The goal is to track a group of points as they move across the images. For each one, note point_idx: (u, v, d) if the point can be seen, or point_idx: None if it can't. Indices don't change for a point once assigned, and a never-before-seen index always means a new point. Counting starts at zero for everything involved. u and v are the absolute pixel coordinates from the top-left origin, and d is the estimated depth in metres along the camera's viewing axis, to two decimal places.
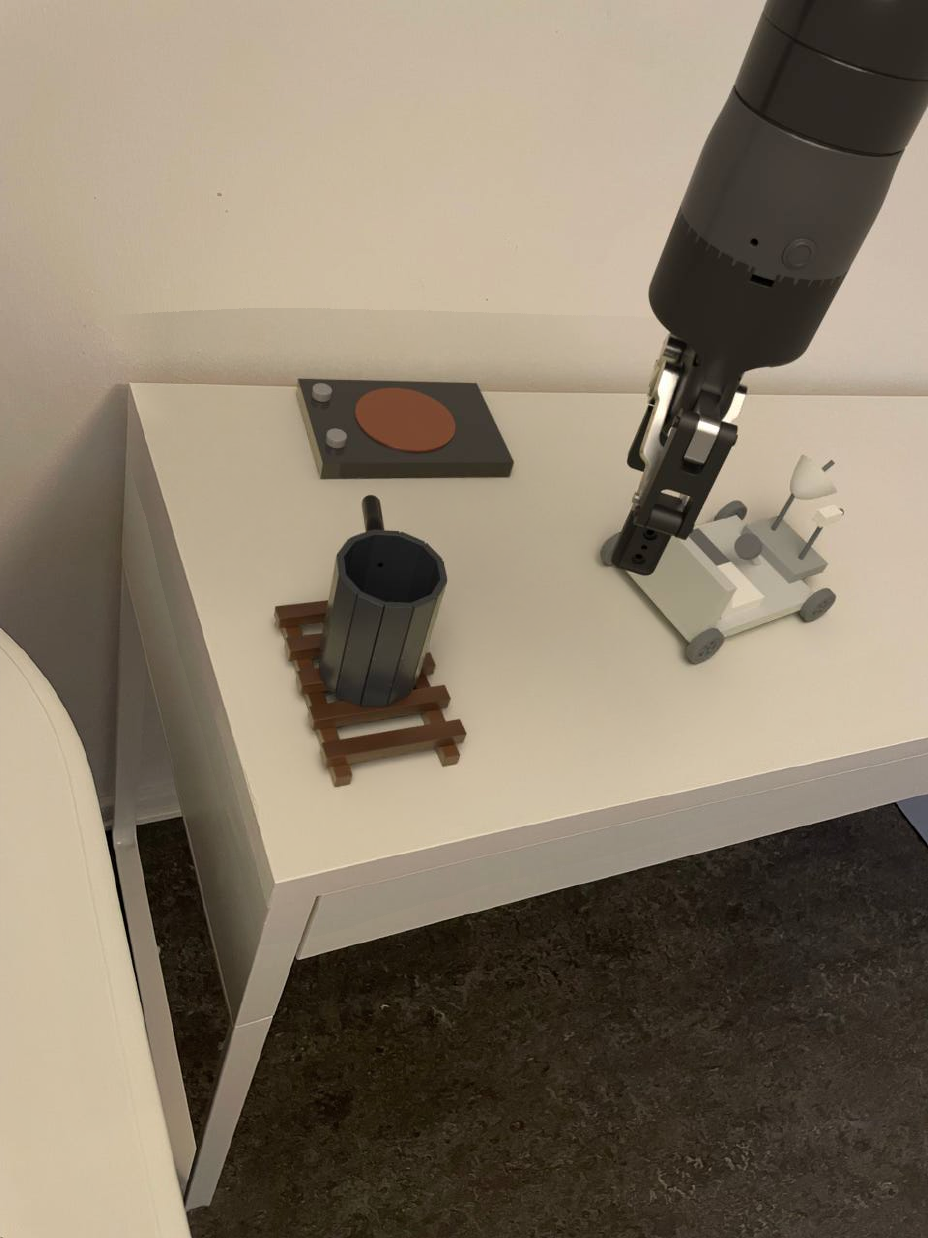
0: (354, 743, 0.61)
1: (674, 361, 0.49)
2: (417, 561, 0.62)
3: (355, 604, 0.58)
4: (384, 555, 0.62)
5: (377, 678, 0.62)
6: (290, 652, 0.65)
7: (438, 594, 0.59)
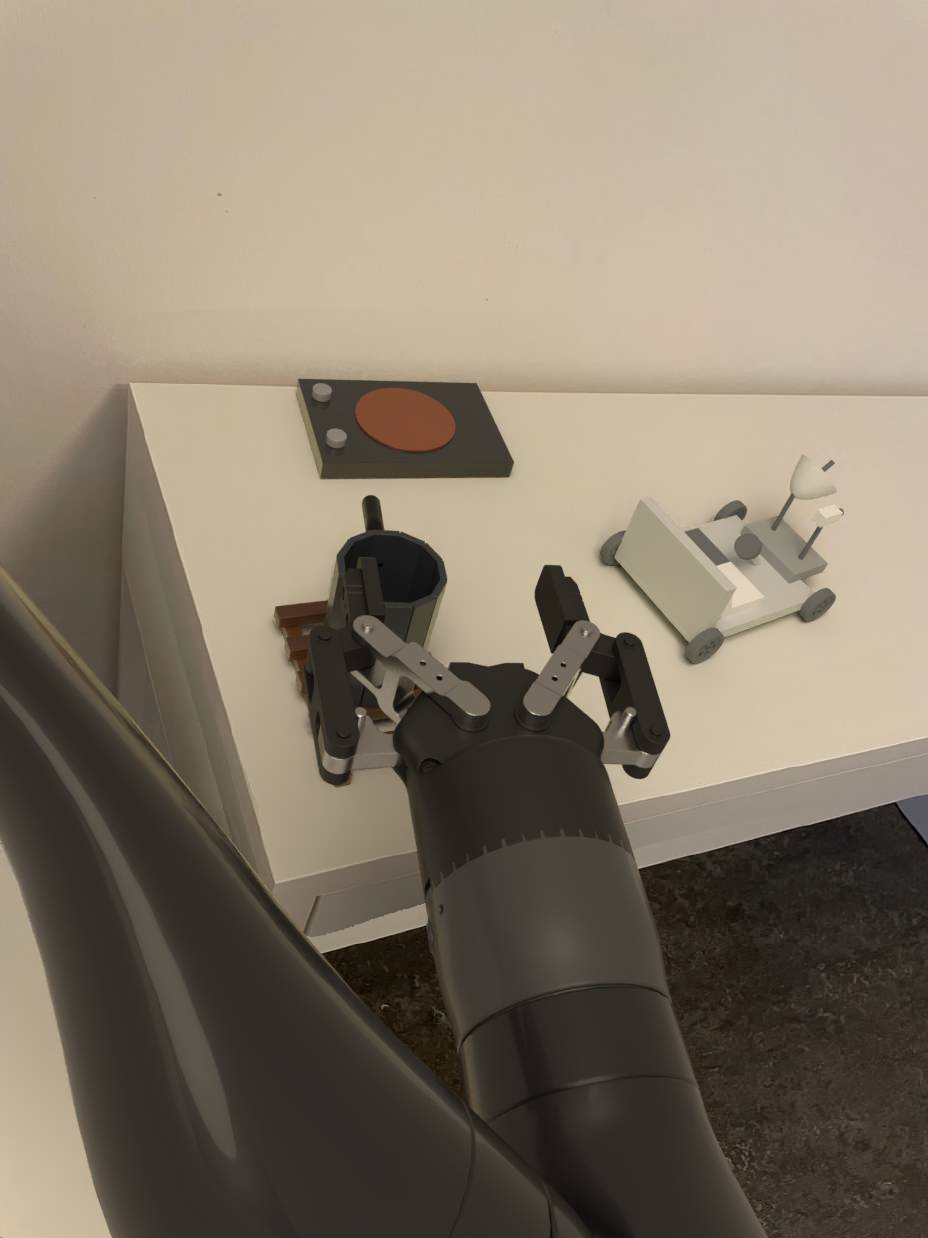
0: None
1: (520, 706, 0.40)
2: (417, 561, 0.62)
3: None
4: (384, 555, 0.62)
5: None
6: (290, 652, 0.65)
7: (438, 594, 0.59)
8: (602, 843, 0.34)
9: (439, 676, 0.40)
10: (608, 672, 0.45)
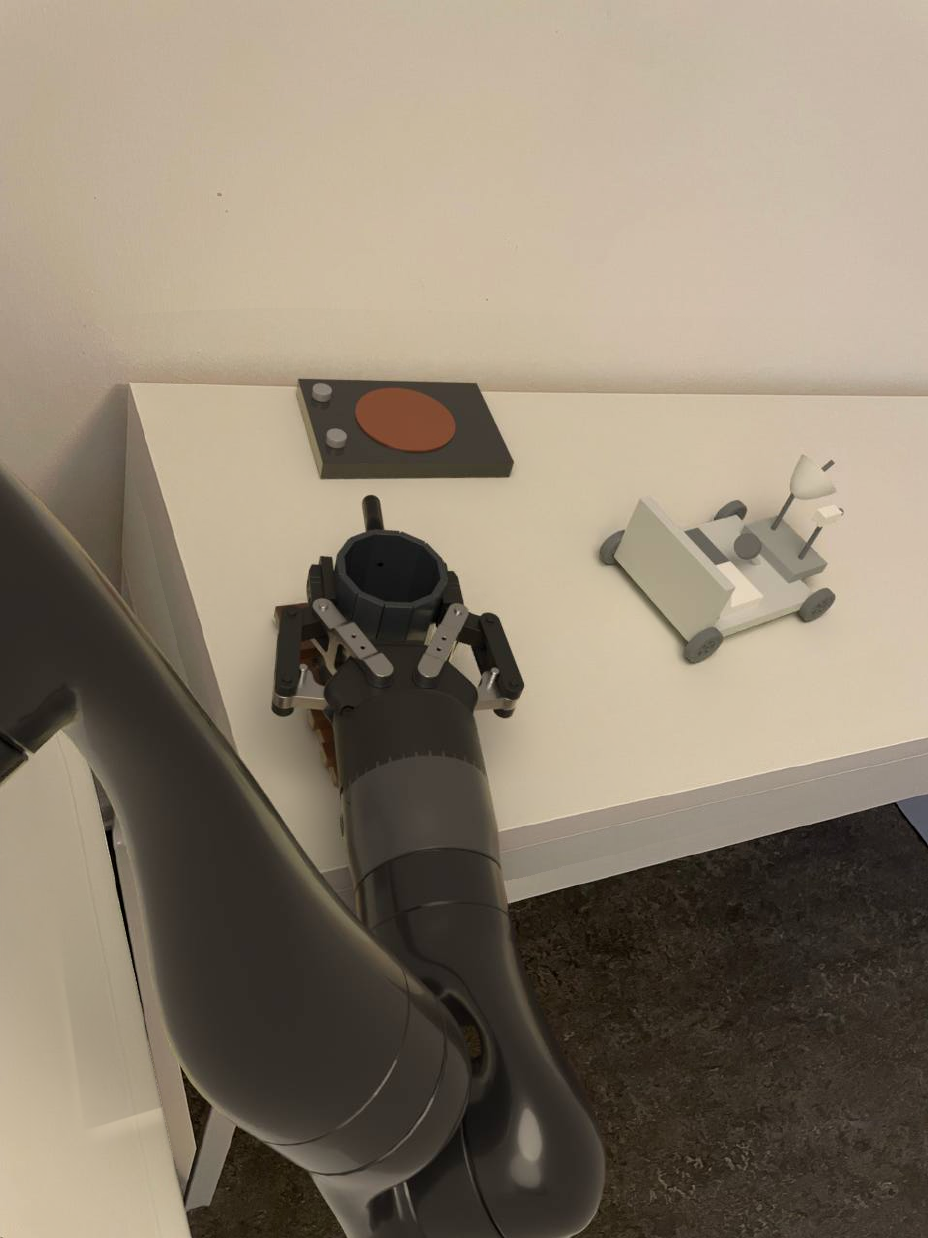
0: None
1: (417, 671, 0.56)
2: (417, 561, 0.62)
3: (355, 603, 0.58)
4: (384, 555, 0.62)
5: None
6: None
7: (438, 594, 0.59)
8: (458, 761, 0.50)
9: (358, 648, 0.56)
10: (475, 642, 0.61)
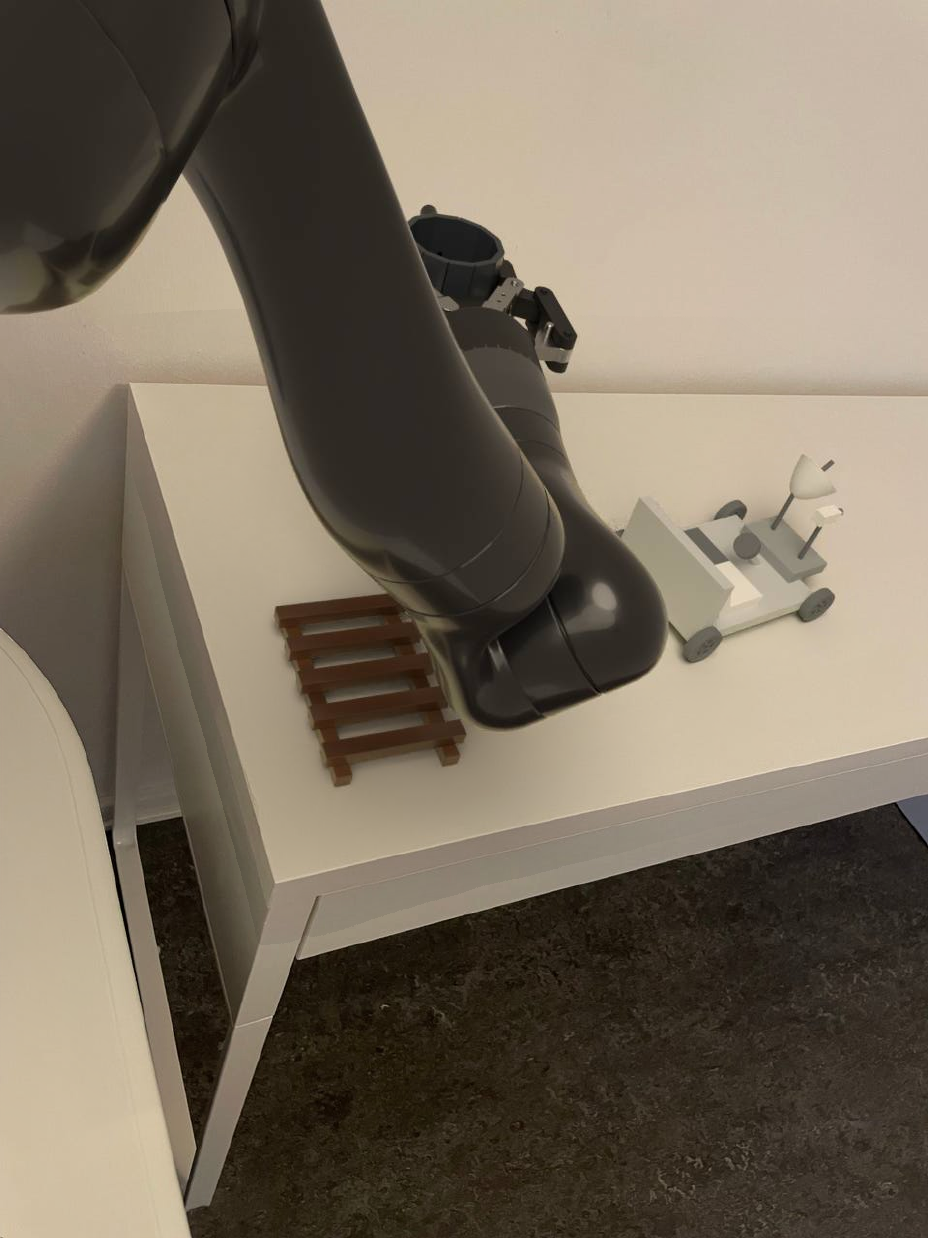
0: (354, 743, 0.61)
1: None
2: (475, 247, 0.67)
3: None
4: (444, 242, 0.67)
5: None
6: (290, 652, 0.65)
7: (497, 260, 0.64)
8: (523, 356, 0.55)
9: None
10: (530, 314, 0.66)
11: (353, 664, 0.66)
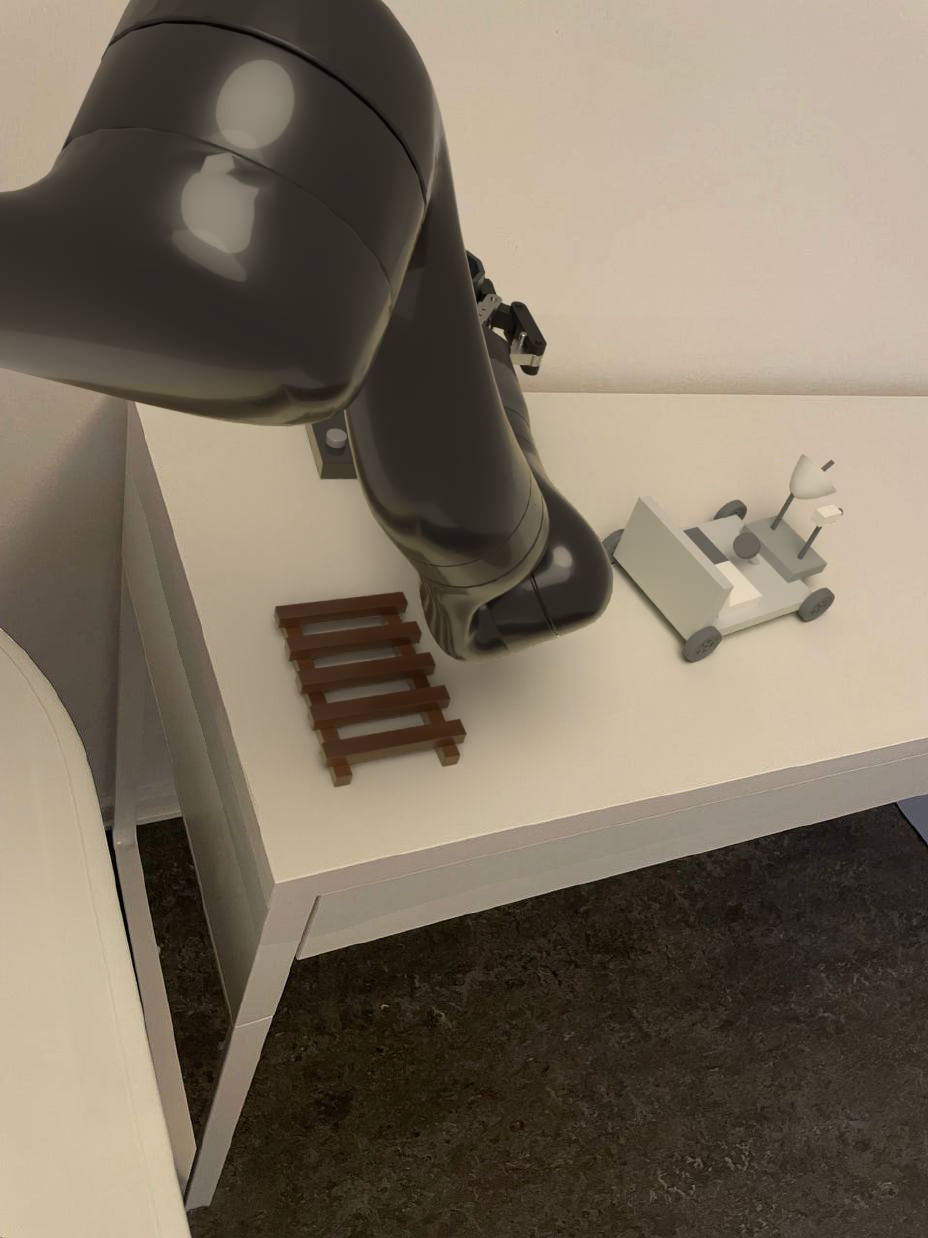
0: (354, 743, 0.61)
1: None
2: None
3: None
4: None
5: None
6: (290, 652, 0.65)
7: (478, 279, 0.75)
8: (499, 362, 0.66)
9: None
10: (507, 325, 0.77)
11: (353, 664, 0.66)
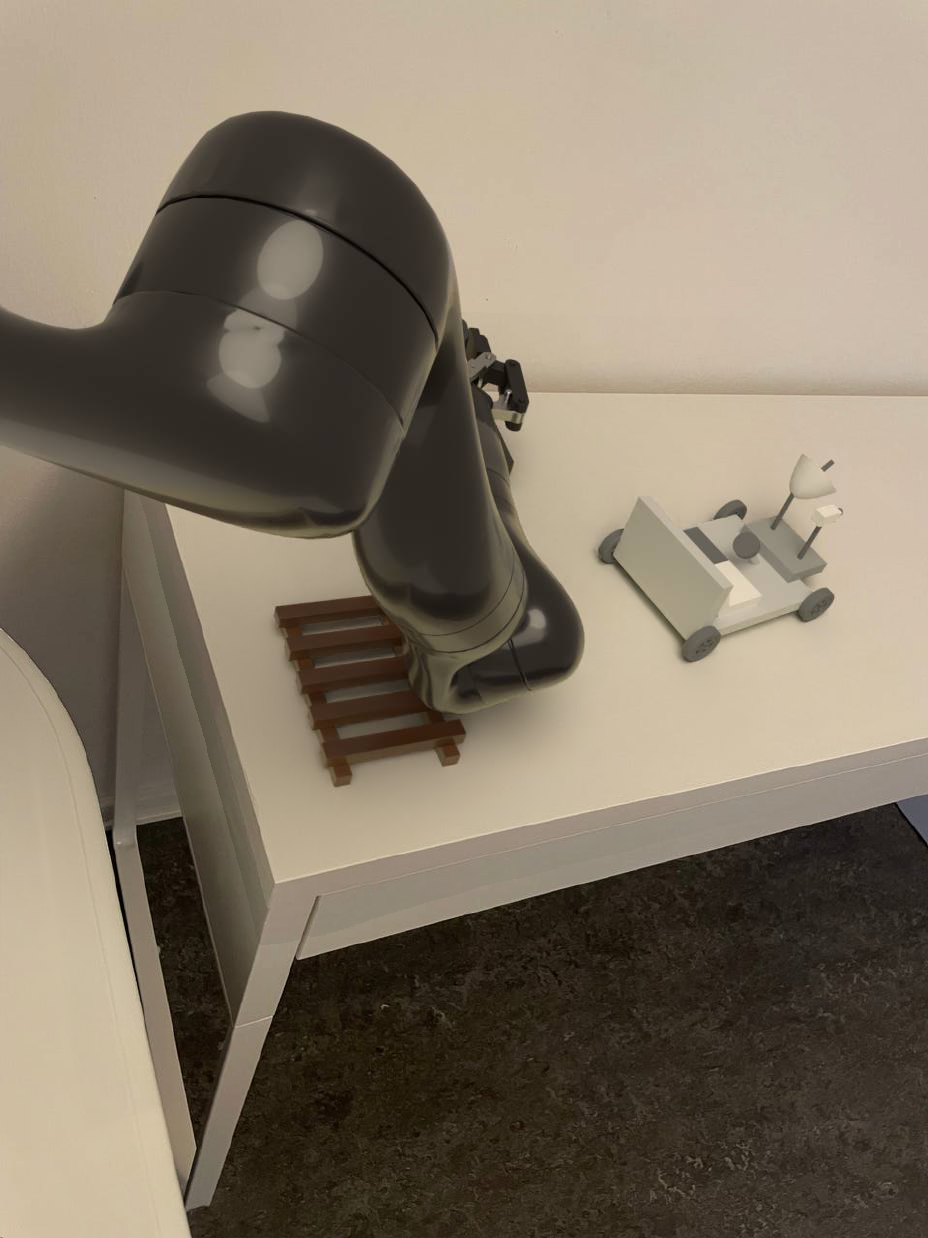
0: (354, 743, 0.61)
1: None
2: None
3: None
4: None
5: None
6: (290, 652, 0.65)
7: None
8: (480, 421, 0.69)
9: None
10: (501, 382, 0.80)
11: (353, 664, 0.66)
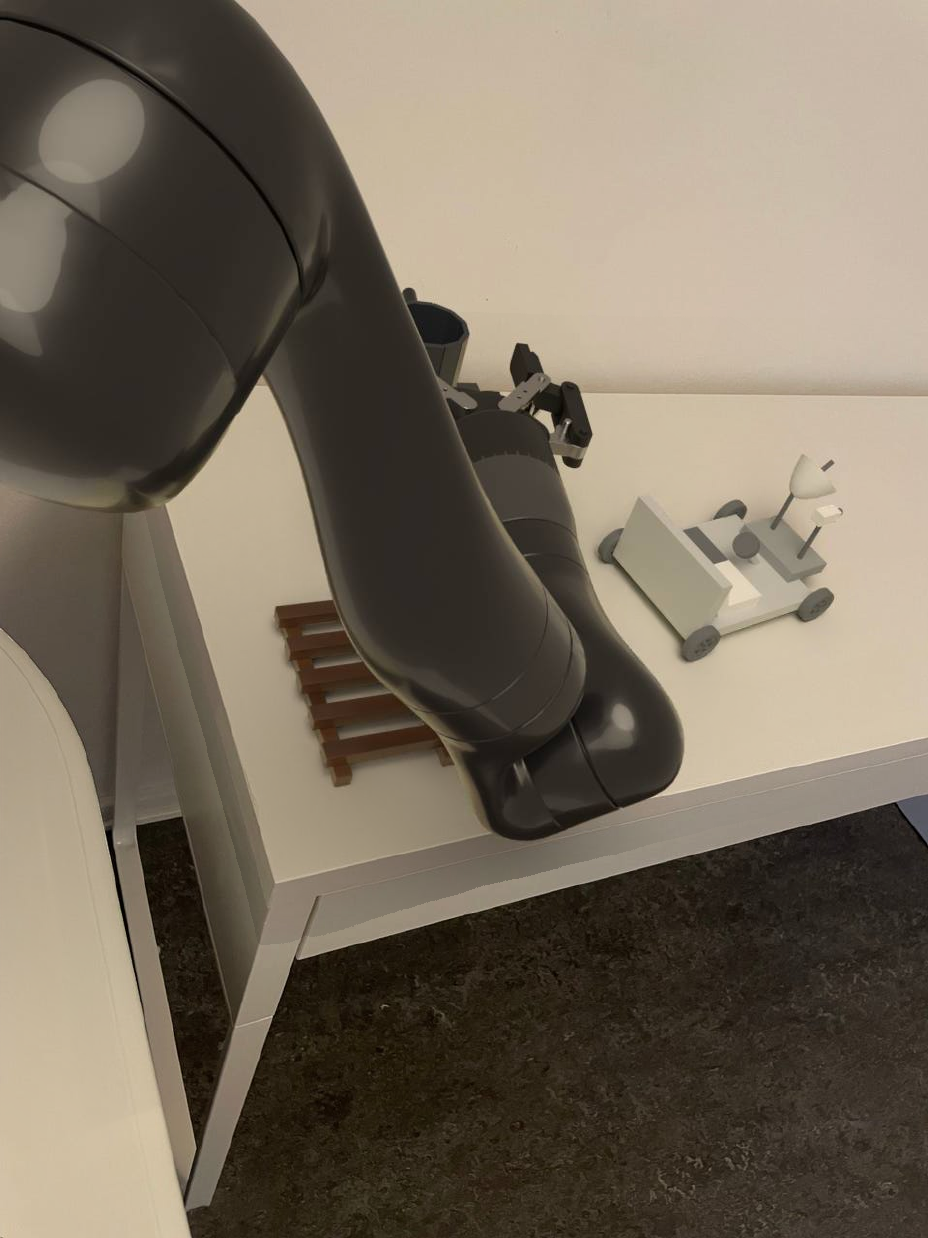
0: (354, 743, 0.61)
1: None
2: (446, 327, 0.82)
3: None
4: (421, 323, 0.82)
5: None
6: (290, 652, 0.65)
7: (463, 341, 0.78)
8: (541, 462, 0.57)
9: (445, 389, 0.63)
10: (556, 408, 0.68)
11: (353, 664, 0.66)
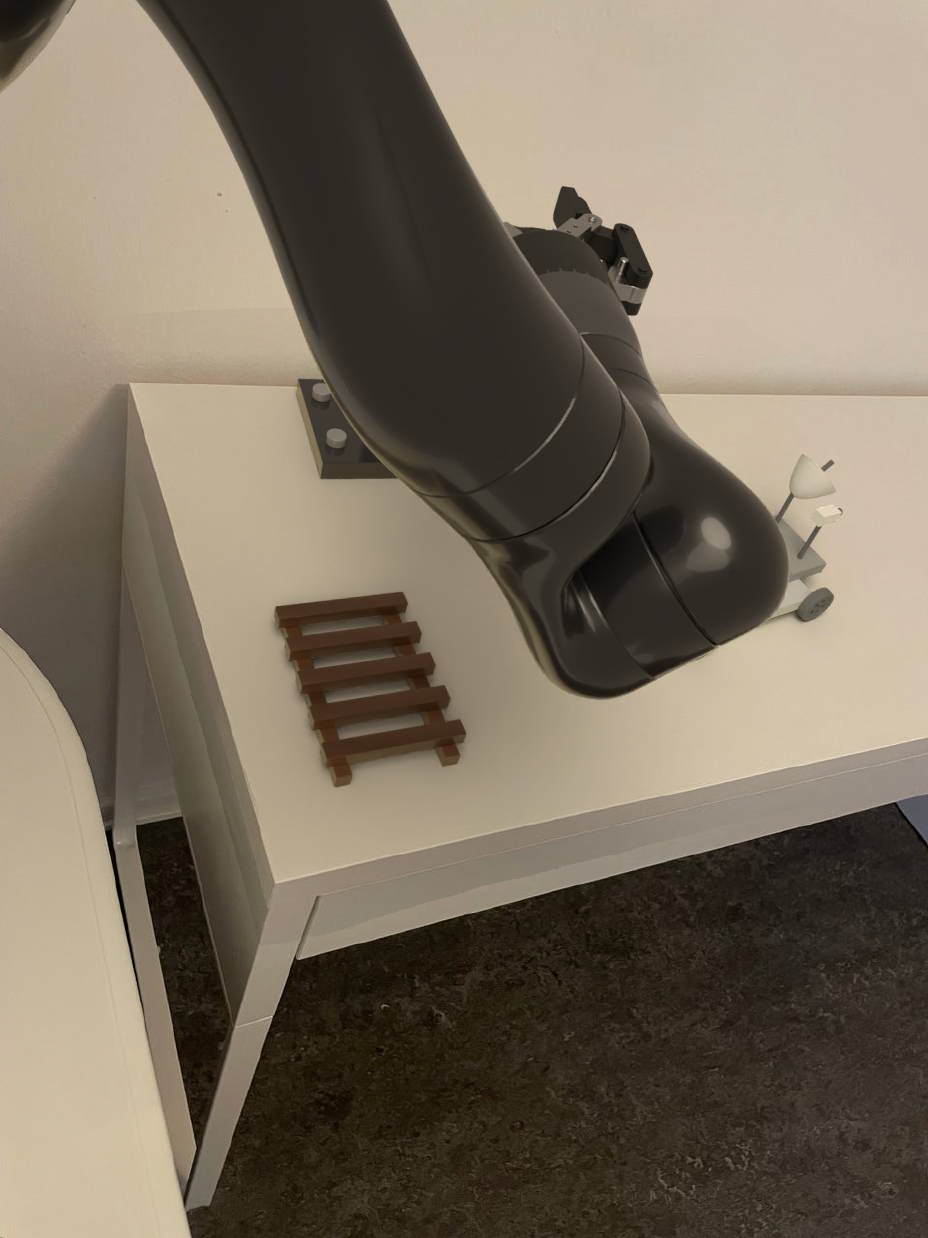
0: (354, 743, 0.61)
1: None
2: None
3: None
4: None
5: None
6: (290, 652, 0.65)
7: None
8: (602, 282, 0.49)
9: None
10: (608, 254, 0.60)
11: (353, 664, 0.66)
